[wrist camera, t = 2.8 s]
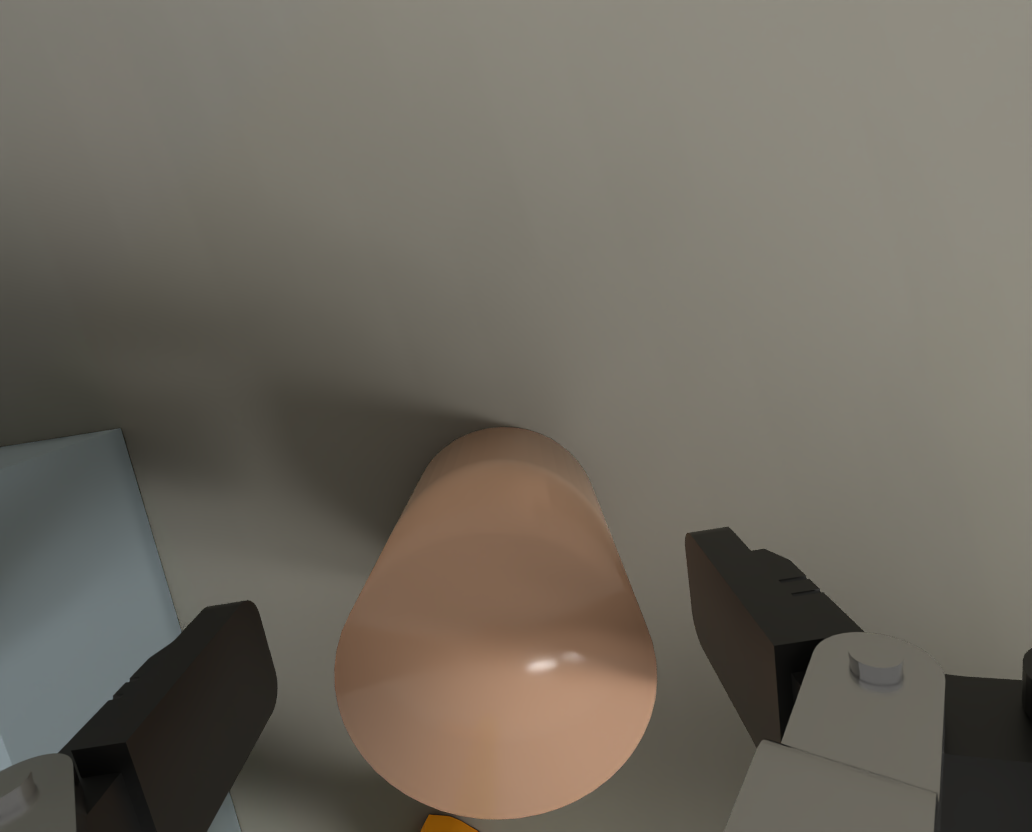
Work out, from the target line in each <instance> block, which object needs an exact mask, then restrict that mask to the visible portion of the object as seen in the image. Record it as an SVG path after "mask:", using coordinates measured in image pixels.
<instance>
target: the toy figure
mask: <svg viewBox="0 0 1032 832" xmlns="http://www.w3.org/2000/svg"><path fill="white" fill-rule="evenodd" d="M420 832H478V831H477V830H475V829H473V828H472V827H470V826H469V825H467V824H465V823H464V822H462V821H460V820H458V819H455V818H453V817H450V816H441V815H428V817H427V819H426V821H425V823H424V825H423V827H422V829H421V831H420Z"/></svg>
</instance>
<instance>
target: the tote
mask: <svg viewBox="0 0 1032 832" xmlns="http://www.w3.org/2000/svg"><path fill="white" fill-rule="evenodd" d="M181 633H182V632H181V628H180V625H179V622H178V618H177V615H176V612H175V608H174V605H173V602H172V598H171V595H170V592H169V588H168V585H167V582H166V578H165V575H164V572H163V568H162V565H161V561H160V558H159V555H158V551H157V548H156V545H155V541H154V538H153V535H152V531H151V528H150V525H149V521H148V518H147V515H146V511H145V508H144V505H143V501H142V498H141V494H140V491H139V488H138V484H137V481H136V478H135V474H134V471H133V468H132V464H131V461H130V458H129V454H128V451H127V448H126V444H125V441H124V438H123V434H122V431H121V428H119V429H112V430H106V431H99V432H93V433H87V434H80V435H74V436H68V437H61V438H55V439H48V440H42V441H36V442H29V443H23V444H17V445H10V446H4V447H0V771H2V770H4V769H6V768H8V767H10V766H12V765H14V764H17V763H19V762H21V761H24V760H27V759H30V758H33V757H36V756H40V755H45V754H52V753H58V752H59V751H60V750H61V749H62V748H63V747H64V746H65V745H66V744H67V743H68V742H69V741H70V740H71V739H72V738H73V737H74V736H75V735H76V733H77V732H78V731H79V730H80V729H81V728H82V727H83V726H84V725H85V724H86V723H87V722H88V721H89V720H90V719H91V718H92V717H93V716H94V715H95V714H96V713H97V712H98V711H99V710H100V708H101V707H102V706H103V705H104V704H105V703H106V702H107V701H108V700H112V699H113V695H114V694H115V693H116V692H117V691H118V690H119V689H120V688H121V687H122V686H123V685H124V684H125V682H129V681H130V677H131V676H132V675H133V674H134V673H135V672H136V671H137V670H138V669H139V668H140V667H141V666H142V665H143V664H144V663H145V662H146V661H147V660H148V659H149V658H150V657H151V656H153V655H154V654H155V653H157V652H158V651H160V650H161V649H163V648H164V647H166V646H167V645H169V644H170V643H171V642H173V641H174V640H175V639H176V638H177V637H178V636H179V635H180V634H181ZM207 832H241V829H240V826H239V823H238V819H237V816H236V813H235V809H234V806H233V803H232V799H231V796H230V793H229V792H228V794H227V796H226V798H225V800H224V802H223V803H222V805H221V807H220V809H219V811H218V813H217V814H216V816H215V818H214V820H213V822H212V824H211V825H210V827H209V829H208V831H207Z"/></svg>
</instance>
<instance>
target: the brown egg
mask: <svg viewBox="0 0 1032 832" xmlns="http://www.w3.org/2000/svg"><path fill="white" fill-rule="evenodd" d="M334 672H335V691H336V697H337V703H338V707H339V710H340V713H341V716H342V720H343V723H344V725H345V727H346V729H347V731H348V733H349V735H350V737H351V739H352V741H353V743H354V744H355V746H356V747H357V749H358V750H359V752H360V753H361V755H362V756H363V757H364V759H365V760H366V761H367V762H368V763H369V764H370V765H371V766H372V768H373V769H374V770H375V771H376V772H377V773H378V774H379V775H381V776H382V777H383V778H384V779H385V780H386V781H387V782H389V783H390V784H391V785H393V786H394V787H395V788H397V789H398V790H400V791H401V792H403V793H404V794H406V795H407V796H409V797H411V798H413V799H415V800H417V801H419V802H421V803H423V804H425V805H428V806H430V807H433V808H435V809H438V810H441V811H444V812H448V813H452V814H455V815H459V816H465V817H472V818H478V819H500V820H501V819H514V818H523V817H528V816H534V815H539V814H543V813H546V812H549V811H552V810H556V809H559V808H561V807H563V806H566V805H568V804H570V803H573V802H575V801H577V800H579V799H580V798H582V797H584V796H586V795H587V794H589V793H591V792H592V791H594V790H595V789H597V788H598V787H599V786H601V785H602V784H603V783H604V782H606V781H607V780H608V779H610V778H611V777H612V776H613V775H614V774H615V773H616V772H617V771H618V770H619V769H620V768H621V767H622V766H623V764H624V763H625V762H626V761H627V759H628V758H629V757H630V755H631V754H632V753H633V752H634V750H635V749H636V747H637V745H638V743H639V742H640V740H641V738H642V736H643V735H644V732H645V730H646V728H647V725H648V723H649V720H650V718H651V714H652V710H653V706H654V702H655V697H656V687H657V666H656V657H655V652H654V647H653V642H652V640H651V637H650V634H649V631H648V628H647V626H646V623H645V620H644V618H643V615H642V613H641V610H640V608H639V605H638V602H637V600H636V597H635V595H634V592H633V590H632V587H631V585H630V582H629V579H628V577H627V574H626V572H625V569H624V567H623V564H622V562H621V559H620V556H619V554H618V551H617V549H616V546H615V544H614V541H613V539H612V536H611V533H610V531H609V528H608V526H607V523H606V521H605V518H604V516H603V513H602V510H601V508H600V505H599V503H598V500H597V498H596V495H595V493H594V490H593V487H592V485H591V482H590V480H589V478H588V476H587V474H586V472H585V471H584V469H583V468H582V466H581V465H580V464H579V462H578V461H577V460H576V459H575V458H574V457H573V456H572V454H571V453H570V452H569V451H567V450H566V449H565V448H564V447H562V446H561V445H560V444H558V443H557V442H555V441H553V440H552V439H550V438H548V437H546V436H544V435H542V434H539V433H536V432H533V431H530V430H527V429H521V428H515V427H495V428H487V429H482V430H478V431H475V432H472V433H469V434H466V435H464V436H462V437H460V438H458V439H456V440H455V441H453V442H452V443H450V444H449V445H447V446H446V447H444V448H443V449H442V450H441V451H440V452H439V453H438V454H437V455H436V456H435V457H434V458H433V459H432V461H431V462H430V463H429V464H428V466H427V467H426V469H425V470H424V472H423V474H422V475H421V477H420V479H419V481H418V483H417V485H416V487H415V489H414V491H413V493H412V494H411V496H410V498H409V500H408V502H407V504H406V506H405V508H404V510H403V512H402V514H401V516H400V518H399V520H398V521H397V523H396V525H395V527H394V529H393V531H392V533H391V535H390V537H389V539H388V541H387V543H386V545H385V547H384V548H383V550H382V552H381V554H380V556H379V558H378V560H377V562H376V564H375V566H374V568H373V570H372V572H371V574H370V575H369V577H368V579H367V581H366V583H365V585H364V587H363V589H362V591H361V593H360V595H359V597H358V599H357V601H356V602H355V604H354V606H353V608H352V610H351V612H350V614H349V616H348V619H347V621H346V623H345V625H344V628H343V630H342V633H341V636H340V640H339V643H338V647H337V652H336V660H335V668H334Z"/></svg>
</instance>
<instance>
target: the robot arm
mask: <svg viewBox="0 0 1032 832" xmlns="http://www.w3.org/2000/svg"><path fill="white" fill-rule="evenodd" d="M685 550H686V559H687V568H688V578H689V587H690V597H691V606H692V614H693V620H694V625H695V629H696V632H697V635H698V639H699V641H700V644H701V646H702V648H703V650H704V652H705V654H706V656H707V657H708V659H709V661H710V663H711V665H712V667H713V668H714V670H715V672H716V674H717V676H718V678H719V679H720V681H721V683H722V685H723V687H724V689H725V690H726V692H727V694H728V696H729V698H730V700H731V701H732V703H733V705H734V707H735V709H736V711H737V712H738V714H739V716H740V718H741V720H742V722H743V723H744V725H745V727H746V729H747V731H748V733H749V734H750V736H751V738H752V740H753V742H754V744H755V745H756V747H757V750H756V752H755V754H754V757H753V759H752V762H751V764H750V767H749V769H748V772H747V774H746V777H745V779H744V782H743V784H742V787H741V789H740V792H739V794H738V797H737V800H736V802H735V805H734V807H733V810H732V812H731V815H730V817H729V820H728V822H727V825H726V827H725V830H724V832H1032V648H1031V649H1030V650H1028V651H1027V653H1026V654H1025V655H1024V658H1023V673H1022V680H1010V679H994V678H979V677H964V676H954V675H948V674H944V672H943V669H942V667H941V666H940V665H939V663H938V662H937V661H936V660H935V659H934V658H933V657H932V656H931V655H929V654H928V653H927V652H925V651H924V650H922V649H921V648H919V647H917V646H915V645H913V644H911V643H908V642H906V641H904V640H901V639H898V638H895V637H891V636H887V635H883V634H876V633H867V632H864V631H863V630H862V629H861V628H860V627H859V626H858V625H857V624H856V623H855V622H854V621H852V620H851V619H850V618H849V617H848V616H847V615H846V614H845V613H844V612H843V611H842V610H841V609H840V608H839V607H838V606H837V605H836V604H835V603H834V602H833V601H832V600H831V599H830V598H829V597H828V596H826V595H825V594H824V593H823V592H822V593H821V592H820V589H819V588H818V587H817V586H816V585H815V584H814V583H813V582H812V581H811V580H810V579H807V578H806V575H805V574H804V573H803V572H802V571H800V570H799V569H798V568H797V567H796V566H795V565H794V564H793V563H792V562H791V561H790V560H788V559H786V558H784V557H782V556H779V555H777V554H775V553H773V552H770V551H768V550H766V549H760V550H753V551H751V550H750V549H749V548H748V547H747V546H746V545H745V544H744V543H743V542H742V541H741V539H740V538H739V537H738V536H737V535H736V534H735V533H734V532H733V531H732V530H731V529H730V528H729V527H723V528H717V529H710V530H704V531H698V532H691V533H687V534H686V537H685ZM276 698H277V676H276V672H275V668H274V665H273V661H272V658H271V654H270V650H269V647H268V643H267V639H266V636H265V632H264V629H263V625H262V621H261V618H260V614H259V611H258V609H257V607H256V605H255V604H254V603H253V602H251V601H248V600H247V601H241V602H234V603H228V604H221V605H215V606H209V607H206V608H204V609H203V610H202V611H201V612H200V613H199V614H198V615H197V617H196V618H195V619H194V620H193V621H192V622H191V623H190V624H189V625H188V626H187V627H186V628H185V629H184V630H183V631H182V633H181V634H180V635H179V636H178V637H177V638H176V639H175V640H174V641H173V642H171V643H170V644H169V645H167V646H166V647H164V648H163V649H161V650H160V651H158V652H157V653H155V654H154V655H153V656H151V657H150V658H149V659H148V660H147V661H146V662H145V663H144V664H143V665H142V666H141V667H140V668H139V669H138V670H137V671H136V672H135V673H134V674H133V675H132V676H131V677H130V681H129V682H125V684H124V685H123V686H122V687H121V688H120V689H119V690H118V691H117V692H116V693H115V694H114V695H113V699H112V700H108V701H107V702H106V703H105V704H104V705H103V706H102V707H101V708H100V710H99V711H98V712H97V713H96V714H95V715H94V716H93V717H92V718H91V719H90V720H89V721H88V722H87V723H86V724H85V725H84V726H83V727H82V728H81V729H80V730H79V731H78V732H77V733H76V735H75V736H74V737H73V738H72V739H71V740H70V741H69V742H68V743H67V744H66V745H65V746H64V747H63V748H62V749H61V750H60V751H59V752H58V753H52V754H45V755H40V756H36V757H33V758H30V759H27V760H24V761H21V762H19V763H17V764H14V765H12V766H10V767H8V768H6V769H4V770H2V771H0V832H207V831H208V829H209V827H210V825H211V824H212V822H213V820H214V818H215V816H216V814H217V813H218V811H219V809H220V807H221V805H222V803H223V802H224V800H225V798H226V796H227V794H228V792H229V791H230V789H231V787H232V785H233V783H234V782H235V780H236V778H237V776H238V774H239V772H240V771H241V769H242V767H243V765H244V763H245V761H246V760H247V758H248V756H249V754H250V752H251V751H252V749H253V747H254V745H255V743H256V741H257V740H258V738H259V736H260V734H261V732H262V730H263V729H264V727H265V725H266V723H267V721H268V720H269V718H270V716H271V714H272V712H273V710H274V707H275V703H276Z"/></svg>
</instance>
